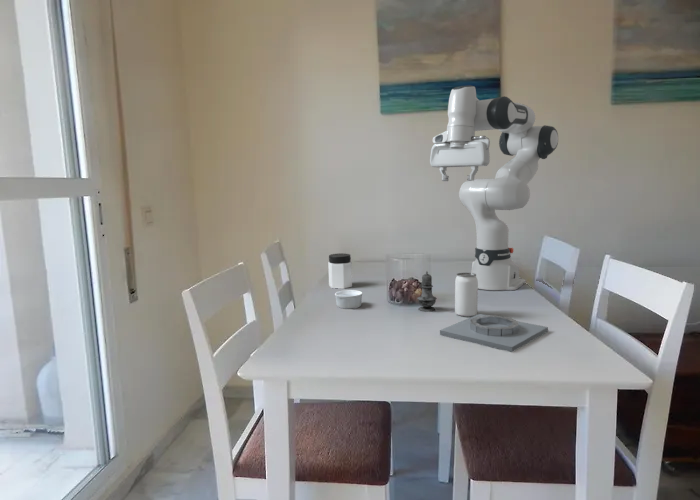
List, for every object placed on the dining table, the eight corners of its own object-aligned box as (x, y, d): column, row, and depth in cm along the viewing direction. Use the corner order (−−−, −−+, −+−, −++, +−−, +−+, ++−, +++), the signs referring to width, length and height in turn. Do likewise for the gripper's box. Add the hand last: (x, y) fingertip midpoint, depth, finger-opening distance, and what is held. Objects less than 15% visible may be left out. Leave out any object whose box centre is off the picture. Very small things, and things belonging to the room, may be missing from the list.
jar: (354, 287, 188) (353, 256, 186) (333, 289, 186) (332, 257, 184) (347, 283, 197) (346, 252, 195) (327, 284, 194) (326, 254, 192)
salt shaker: (436, 312, 153) (436, 273, 151) (416, 311, 154) (416, 273, 152) (436, 307, 159) (436, 269, 157) (418, 306, 160) (417, 269, 158)
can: (451, 312, 152) (451, 273, 151) (470, 310, 154) (470, 271, 153) (462, 318, 146) (462, 277, 144) (481, 315, 148) (482, 275, 146)
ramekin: (330, 307, 161) (329, 294, 161) (343, 301, 169) (343, 288, 169) (354, 310, 157) (354, 297, 157) (367, 304, 165) (367, 291, 164)
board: (479, 317, 146) (479, 313, 146) (547, 331, 132) (547, 327, 132) (439, 334, 132) (439, 330, 132) (511, 352, 118) (511, 347, 118)
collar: (484, 319, 140) (485, 313, 140) (526, 327, 132) (526, 321, 132) (461, 329, 132) (461, 322, 132) (504, 339, 124) (504, 332, 123)
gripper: (494, 136, 157) (492, 181, 158) (439, 140, 171) (437, 181, 172) (484, 133, 152) (481, 180, 153) (428, 138, 166) (426, 180, 167)
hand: (457, 181), depth 163 cm, fingers open, 8 cm apart
